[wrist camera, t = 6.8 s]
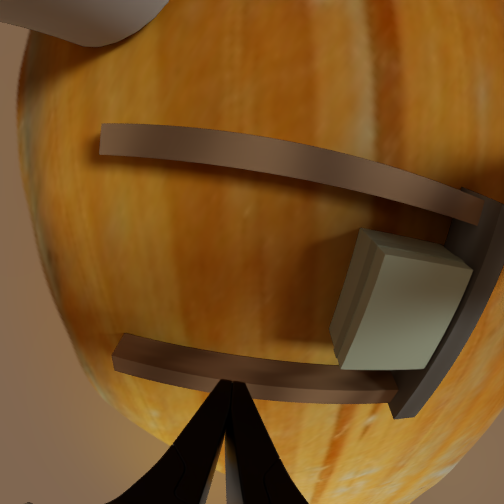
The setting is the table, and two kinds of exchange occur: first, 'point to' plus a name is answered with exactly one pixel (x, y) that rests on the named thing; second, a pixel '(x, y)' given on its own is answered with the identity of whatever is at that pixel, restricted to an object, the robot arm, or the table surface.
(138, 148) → the bay
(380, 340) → the block
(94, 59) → the table surface
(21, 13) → the can
